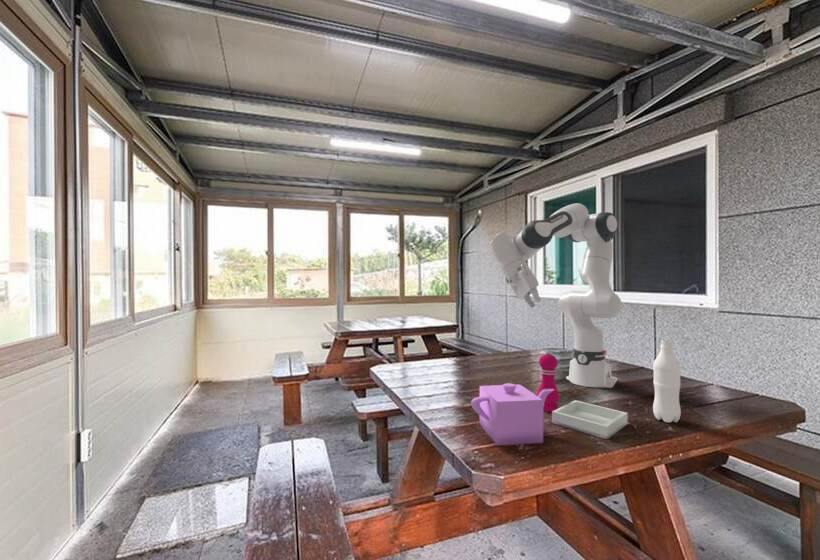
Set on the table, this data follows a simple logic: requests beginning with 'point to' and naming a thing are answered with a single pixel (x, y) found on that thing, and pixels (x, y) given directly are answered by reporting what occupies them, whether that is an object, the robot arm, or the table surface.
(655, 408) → the water bottle
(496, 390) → the teapot
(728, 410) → the table surface
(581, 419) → the tray
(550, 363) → the pepper mill
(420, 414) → the table surface
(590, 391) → the table surface
